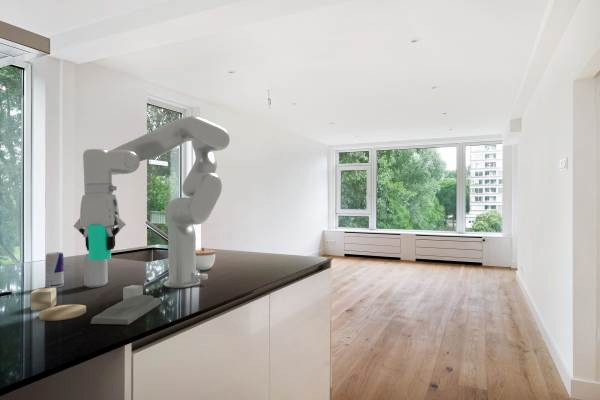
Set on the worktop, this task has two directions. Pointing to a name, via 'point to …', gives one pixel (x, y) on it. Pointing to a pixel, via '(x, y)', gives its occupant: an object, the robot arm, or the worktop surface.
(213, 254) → the lidded jar
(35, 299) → the maple cube
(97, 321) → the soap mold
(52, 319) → the disc
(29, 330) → the worktop surface
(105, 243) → the candle
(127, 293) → the grey stone block
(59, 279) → the energy drink
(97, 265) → the can
